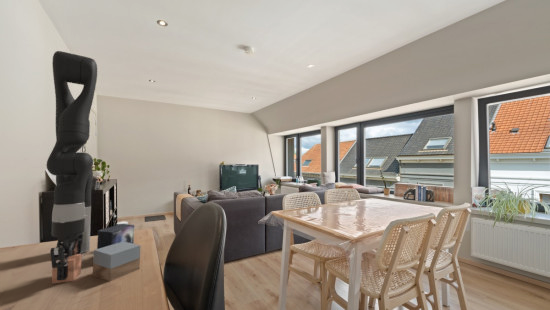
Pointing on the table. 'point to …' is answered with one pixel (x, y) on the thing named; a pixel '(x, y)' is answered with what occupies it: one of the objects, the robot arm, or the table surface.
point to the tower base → (115, 270)
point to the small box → (115, 235)
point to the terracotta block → (69, 269)
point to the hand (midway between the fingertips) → (67, 274)
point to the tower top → (116, 254)
